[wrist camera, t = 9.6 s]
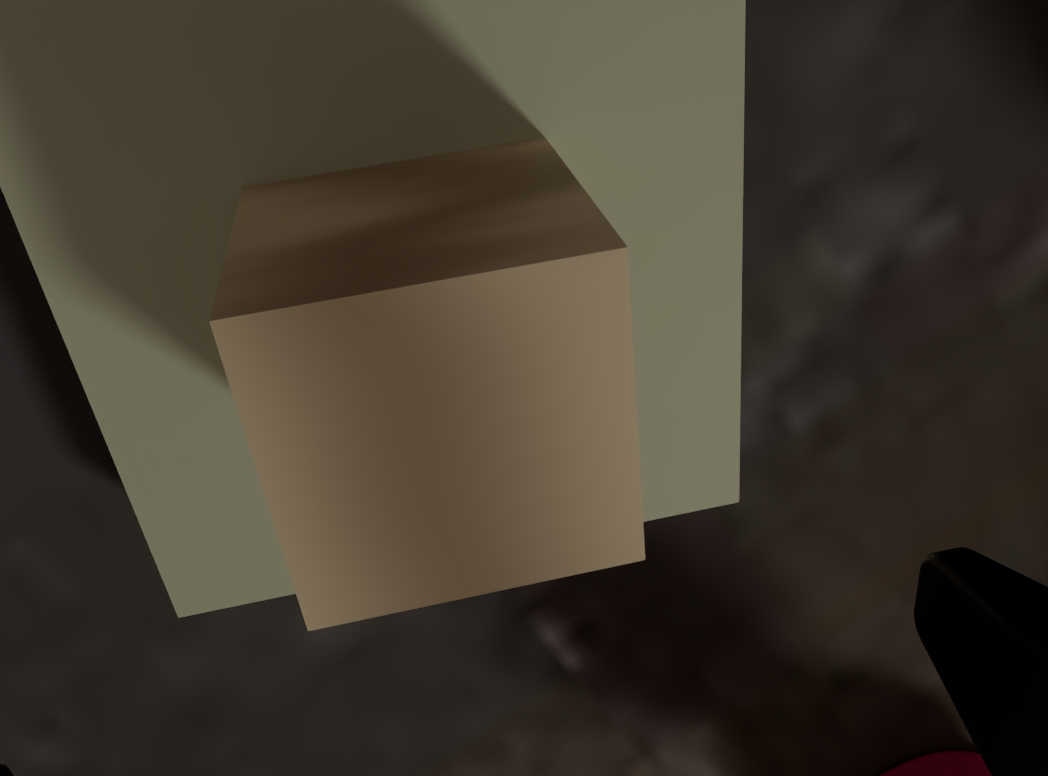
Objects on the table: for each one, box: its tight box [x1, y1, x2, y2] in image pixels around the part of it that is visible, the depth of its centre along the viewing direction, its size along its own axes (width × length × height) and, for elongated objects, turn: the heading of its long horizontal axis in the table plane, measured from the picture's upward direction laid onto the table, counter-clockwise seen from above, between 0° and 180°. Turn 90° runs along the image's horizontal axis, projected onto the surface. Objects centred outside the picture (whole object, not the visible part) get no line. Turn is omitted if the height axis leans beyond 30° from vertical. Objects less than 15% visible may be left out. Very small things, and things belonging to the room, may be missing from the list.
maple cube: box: [209, 138, 645, 631], centre depth 14 cm, size 5×5×5 cm
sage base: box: [0, 0, 745, 618], centre depth 18 cm, size 12×12×3 cm
